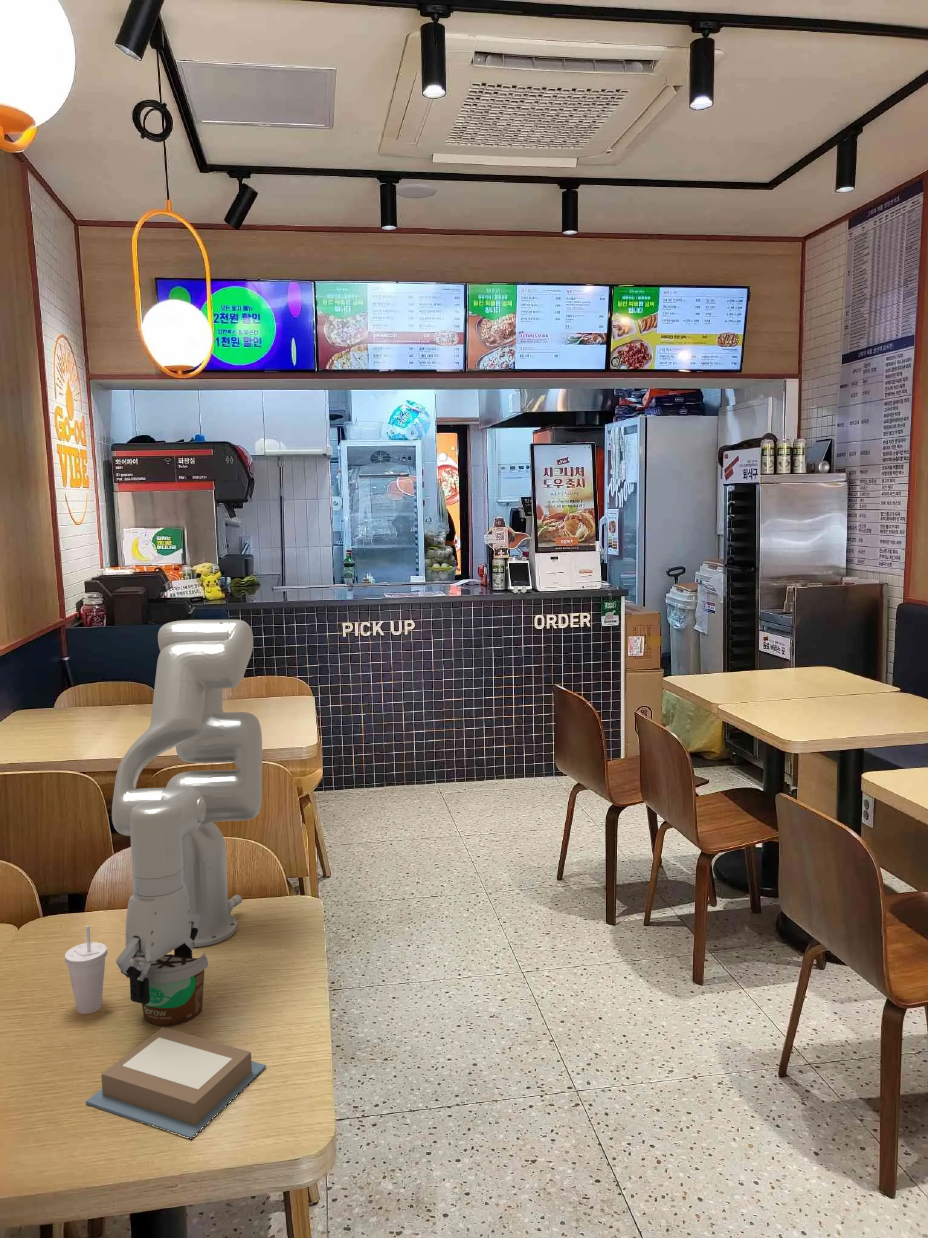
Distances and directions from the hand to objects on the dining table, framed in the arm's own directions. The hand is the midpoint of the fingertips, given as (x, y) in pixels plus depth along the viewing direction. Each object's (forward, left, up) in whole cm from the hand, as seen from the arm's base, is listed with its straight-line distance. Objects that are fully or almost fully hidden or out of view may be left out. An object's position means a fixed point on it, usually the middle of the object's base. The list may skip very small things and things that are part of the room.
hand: (162, 987), depth 138 cm
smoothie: (+1, -14, -6) cm, 16 cm away
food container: (-1, 0, -6) cm, 6 cm away
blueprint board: (+11, +13, -6) cm, 18 cm away
